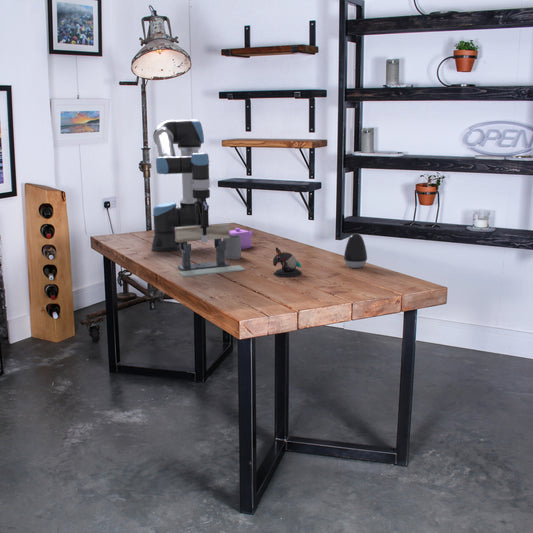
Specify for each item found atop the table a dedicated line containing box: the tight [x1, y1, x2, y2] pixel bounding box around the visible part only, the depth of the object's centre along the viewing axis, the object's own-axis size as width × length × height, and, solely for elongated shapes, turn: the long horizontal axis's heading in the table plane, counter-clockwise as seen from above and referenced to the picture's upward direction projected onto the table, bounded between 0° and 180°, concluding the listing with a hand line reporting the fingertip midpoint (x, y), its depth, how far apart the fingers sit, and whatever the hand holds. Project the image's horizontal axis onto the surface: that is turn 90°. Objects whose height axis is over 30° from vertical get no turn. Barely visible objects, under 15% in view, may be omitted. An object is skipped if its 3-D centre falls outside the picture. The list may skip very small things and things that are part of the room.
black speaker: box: [343, 232, 368, 269], centre depth 284 cm, size 10×10×15 cm
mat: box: [178, 265, 246, 278], centre depth 281 cm, size 8×28×1 cm, turn 113°
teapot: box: [229, 227, 254, 250], centre depth 331 cm, size 18×10×10 cm, turn 124°
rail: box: [175, 222, 230, 243], centre depth 285 cm, size 4×24×6 cm, turn 113°
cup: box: [222, 235, 242, 260], centre depth 308 cm, size 8×8×10 cm
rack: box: [177, 239, 231, 271], centre depth 287 cm, size 8×22×12 cm, turn 113°
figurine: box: [272, 246, 302, 278], centre depth 274 cm, size 11×12×12 cm
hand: (202, 241), depth 286 cm, fingers closed on rail, 4 cm apart
